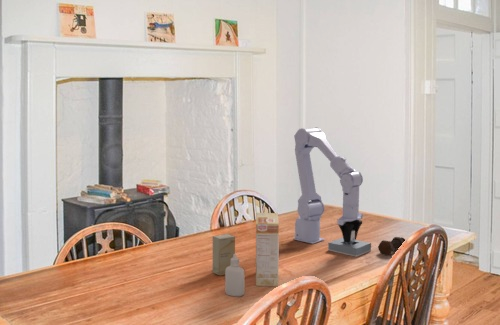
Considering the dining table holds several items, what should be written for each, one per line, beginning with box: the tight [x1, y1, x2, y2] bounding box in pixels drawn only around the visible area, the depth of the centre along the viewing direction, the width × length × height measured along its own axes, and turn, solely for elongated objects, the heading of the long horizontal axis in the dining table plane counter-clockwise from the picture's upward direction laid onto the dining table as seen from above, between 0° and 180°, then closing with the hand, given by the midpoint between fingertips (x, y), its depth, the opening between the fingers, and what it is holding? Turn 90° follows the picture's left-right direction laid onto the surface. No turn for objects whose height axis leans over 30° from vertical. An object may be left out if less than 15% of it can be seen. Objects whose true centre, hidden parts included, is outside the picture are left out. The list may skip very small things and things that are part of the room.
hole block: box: [327, 236, 372, 258], centre depth 211 cm, size 12×10×3 cm
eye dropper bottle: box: [224, 253, 245, 298], centre depth 166 cm, size 4×6×12 cm
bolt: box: [377, 236, 406, 256], centre depth 212 cm, size 6×5×15 cm
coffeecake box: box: [255, 212, 280, 287], centre depth 180 cm, size 15×7×20 cm, turn 178°
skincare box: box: [212, 233, 236, 276], centre depth 186 cm, size 6×4×12 cm
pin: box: [345, 229, 355, 245], centre depth 211 cm, size 4×4×6 cm
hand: (349, 240), depth 211 cm, fingers closed on pin, 3 cm apart
